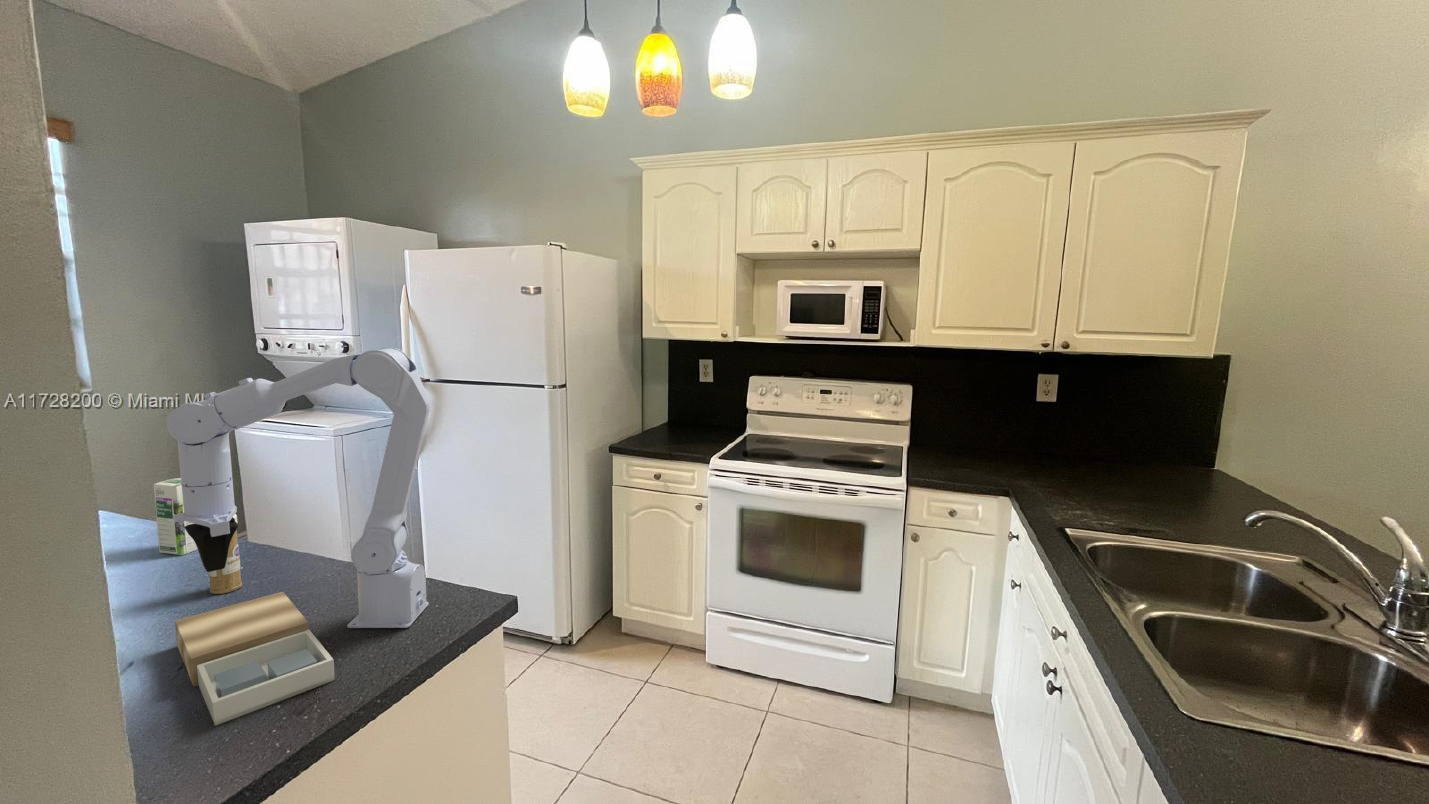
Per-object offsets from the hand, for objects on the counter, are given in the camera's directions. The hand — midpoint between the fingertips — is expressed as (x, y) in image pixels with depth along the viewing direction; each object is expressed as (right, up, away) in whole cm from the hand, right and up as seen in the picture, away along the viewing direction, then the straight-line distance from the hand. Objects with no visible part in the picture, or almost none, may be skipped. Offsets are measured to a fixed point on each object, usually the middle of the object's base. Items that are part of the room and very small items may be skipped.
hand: (215, 569), depth 88 cm
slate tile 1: (+14, -10, -12) cm, 21 cm away
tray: (+16, -12, -10) cm, 22 cm away
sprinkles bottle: (-11, -8, +16) cm, 21 cm away
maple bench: (+6, -11, -2) cm, 13 cm away
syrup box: (-34, -5, +32) cm, 47 cm away
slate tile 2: (+18, -10, -9) cm, 23 cm away
